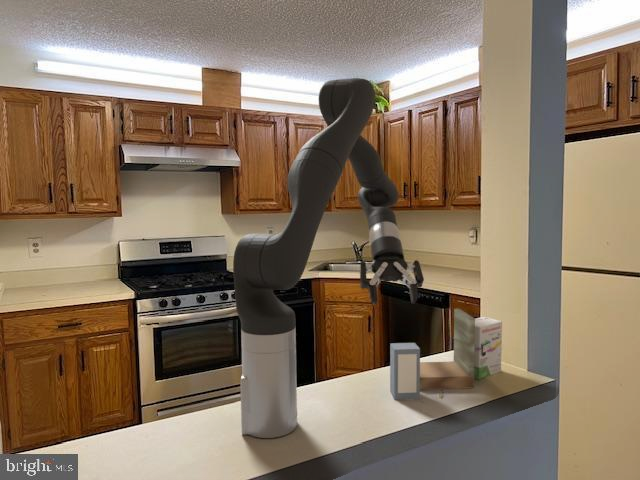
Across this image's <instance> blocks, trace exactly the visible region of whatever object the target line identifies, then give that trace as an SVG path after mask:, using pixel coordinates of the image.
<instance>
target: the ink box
mask: <svg viewBox="0 0 640 480" xmlns="http://www.w3.org/2000/svg"><path fill="white" fill-rule="evenodd" d="M502 338H503V321H502V320H498V319H494V318H491V317H487V316H481V317H477V318H475V349H474V379H477V380H482V379H485V378H487V377H489V376H492V375H494V374H497V373H500V372H502V353H503V352H502V350H503V347H502V343H503V341H502V340H503V339H502Z"/></svg>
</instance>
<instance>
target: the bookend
mask: <svg viewBox="0 0 640 480" xmlns="http://www.w3.org/2000/svg"><path fill="white" fill-rule="evenodd" d="M453 310H454V311H453V312H454V313H453V360H452V361H425V362H424V361H422V362H421V361H420V391H421V390H443V389H444V390H448V389H474V388H475V378H474V349H475V319H476V318H475V317H473V316H472V315H471V314H468V313H467V312H466V311H464V310H463V309H461V308H454V309H453Z"/></svg>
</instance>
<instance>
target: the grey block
mask: <svg viewBox="0 0 640 480" xmlns="http://www.w3.org/2000/svg"><path fill="white" fill-rule="evenodd" d="M389 344H390V345H389V349H390V351H389V354H390V355H389V358H390V360H389V361H390V362H389V382H390V383H389V384H390V385H389V386H390V387H389V391H390V395H391V397H392V398H393V400H394V401H399V400H400V401H403V400H420V397H421V395H420V394H421V390H420V362H421V348H420V346H418V345H417V343H416V342H395V343H393V342H392V343H389Z"/></svg>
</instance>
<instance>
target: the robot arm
mask: <svg viewBox="0 0 640 480" xmlns="http://www.w3.org/2000/svg"><path fill="white" fill-rule="evenodd" d="M375 92H376V91H375V88H374V86H373V84H372V82H371V81H370V80H368V79H366V78H359V77H354V78H341V79H340V78H339V79H331V80H327V81H325V82H324V83H323V84H322V85H321V87H320V89H319V92H318V107H319V111H320V113H321V116H322V119H323V121H324V122H325V124H326V125H327V127H325V128H323V130H321V131H319V132H318V133H317V134H315V135H314V136H312V137H311V138H310V139H309V140H307V142H305V144H304V145H303V146H301V148H300V150H299V151H298V153H297V154H296V157H295V158H294V161H293V162H292V165H291V166H290V168H289V171H288V174H287V178H286V179H287V189H288V194H289V198H290V202H291V212H290V215H289V218H288V220H287V222H286V224H285V226H284V227H283V230H281V232H279V233H247V234H246V235H244V236H241V238H240V239H239V241H238V242H237V245H236V246H235V250H234V253H233V261H232V263H233V264H232V266H233V267H232V270H233V284H234V297H235V309H236V313H237V315H238V318H239V320H240V333H241V335H240V337H241V339H240V340H241V372H242V374H241V377H240V416H241V417H240V418H241V420H240V421H241V435H249V436H252V437H254V438H255V437H256V438H260V439H261V438H262V439H273V438H274V439H275V438H279V437H284V436H286V435H288V434H290V433H292V432H294V430H296V429H297V426H298V403H297V401H298V398H297V397H298V394H297V390H298V388H297V339H296V338H297V337H296V336H297V333H296V330H297V329H296V327H297V326H296V325H297V324H296V313H295V311H294V310H293V309H292V308H291V307H290V306H289V305H286V304H285V303H283V302H282V301H281V300H280V299H279V298H278V296H276V294H275V293H274V290H276V291H287V290H290V289H293V288H294V287H295V286H297V284H298V282H299V281H300V280H301V278H302V276H303V274H304V272H305V269H306V267H307V263H308V261H309V258H310V254H311V251H312V248H313V245H314V242H315V239H316V235H317V232H318V229H319V226H320V223H321V221H322V219H323V217H324V214H325V212H326V209H327V206H328V204H329V202H330V201H331V200H330V199H331V198H332V195H333V193H334V192H335V190H336V188H337V185H338V183H339V181H340V179H341V176H342V174H343V171H344V168H345V166H346V164H347V161H348V160H349V162H350V165H351V167H352V169H353V173H354V175H355V177H356V180H357V183H358V184H359V185H360V187H361V188H360V189H359V190H358V193H357V199H358V203H359V206H360V207H361V209H362V211H363V212H364V214H365V216H366V218H367V219H366V220H367V224H368V231H369V236H368V237H369V240H368V241H369V248H370V253H371V259H372V263H366V262H365V261H361V262H360V266H359V284H360V285H359V286H360V288H361V289H363V290H364V289H366V290H368V294H369V300H370V302H372V304H373V305H377V304H378V300H379V298H378V292H377V286H378V285H379V284H380V283H381V281H383V282H384V283H385V282H387V283H388V282H398V281H399V282H400V283H401V284H402V285H405V286H407V288H408V289H409V290H408V291H409V297H410V302H411V304H415V303H416V302H417V301H418V299H419V293H418V291H419V290H418V288H422V287H423V283H424V281H425V278H424V274H423V272H422V268H421V265H420V262H419V261H418V259H417V260H414V261H413V262H411V263H410V262H409V263H408V262H407V261H406V259H405V255H404V251H403V249H404V248H403V245H402V238H401V236H400V235H401V234H400V232H399V228H398V224H397V218H396V214H395V212H394V210H393V209H392V208H391V207H393V206H395V205H396V204H397V203H398V201H399V195H400V194H399V191H398V188H397V187H396V184H395V183H394V182H393V180H391V179H390V177H389V176H388V175H387V173H386V172H385V170H384V166H383V163H382V161H381V158H380V155H379V153H378V151H377V149H376V148H375V147H374V145H372V144H371V143H370V142H369V141H368V140H367V139H366V138H364V137H363V136H362V135H361V134H362V133H363V131H364V129H365V128H366V126H367V124H368V122H369V121H370V119H371V117H372V114H373V111H374V107H375V103H376V93H375ZM408 270H409V271H410V272H411V273H413V275H414V277H412V276H411V274H410V273H409V271H408ZM370 271H372V273H373V274H374V275H373V277H372V278H371V280H367V274H369V272H370Z"/></svg>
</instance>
